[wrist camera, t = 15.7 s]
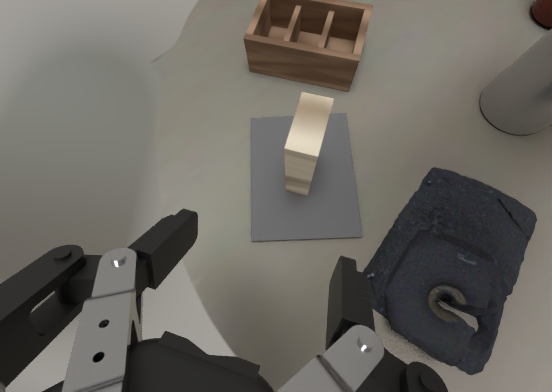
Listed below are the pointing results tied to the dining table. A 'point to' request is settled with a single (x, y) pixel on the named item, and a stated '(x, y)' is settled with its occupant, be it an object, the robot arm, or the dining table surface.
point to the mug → (543, 12)
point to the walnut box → (308, 40)
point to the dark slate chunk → (451, 266)
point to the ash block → (305, 141)
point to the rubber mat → (322, 193)
